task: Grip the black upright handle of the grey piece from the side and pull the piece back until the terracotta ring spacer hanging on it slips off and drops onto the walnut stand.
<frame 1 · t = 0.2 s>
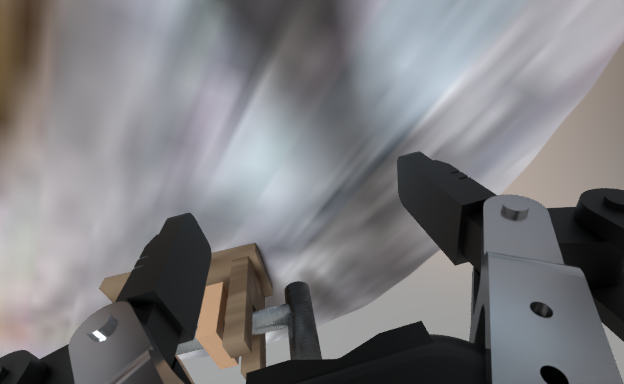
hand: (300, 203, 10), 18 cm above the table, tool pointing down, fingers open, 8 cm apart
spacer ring: (224, 301, 33), point 4 cm above the table, touching grey piece
grey piece: (229, 362, 27), point 12 cm above the table, slide at 0.0 cm, touching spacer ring
shaft stand: (213, 278, 36), on the table
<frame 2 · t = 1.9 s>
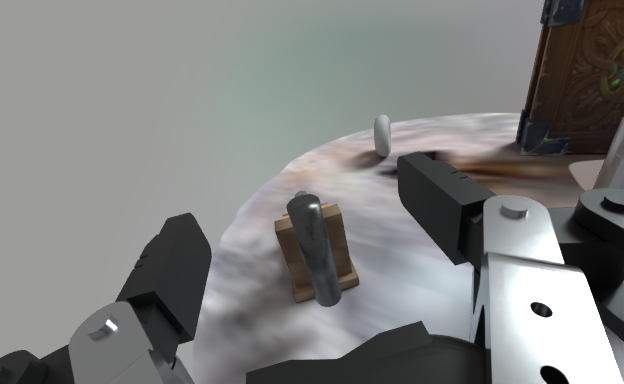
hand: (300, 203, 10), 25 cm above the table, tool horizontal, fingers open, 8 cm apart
decorative book: (592, 148, 52), on the table
grey piece: (305, 212, 34), point 11 cm above the table, slide at 0.0 cm, touching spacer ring
shaft stand: (318, 257, 42), on the table
donut: (384, 155, 67), on the table
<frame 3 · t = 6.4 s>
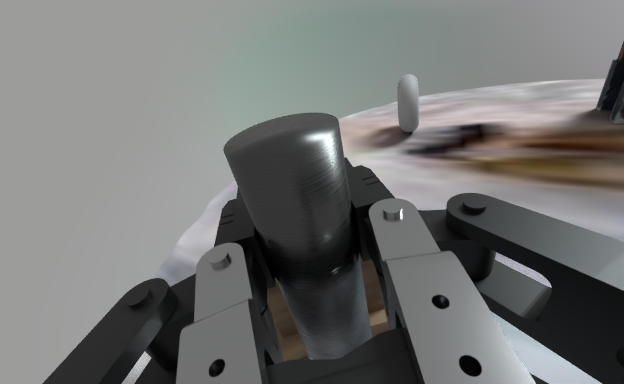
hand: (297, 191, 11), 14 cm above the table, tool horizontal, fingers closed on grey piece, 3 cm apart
grey piece: (299, 192, 17), point 12 cm above the table, slide at 0.0 cm, touching gripper, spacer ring
shaft stand: (322, 275, 26), on the table
donut: (408, 131, 51), on the table
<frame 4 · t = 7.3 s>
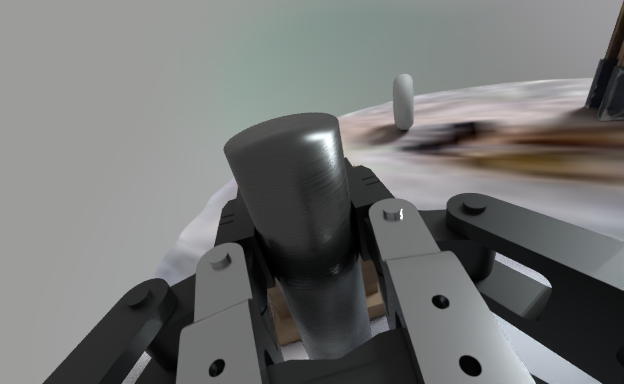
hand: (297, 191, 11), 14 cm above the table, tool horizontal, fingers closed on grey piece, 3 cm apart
grey piece: (298, 192, 17), point 12 cm above the table, slide at 1.4 cm, touching gripper, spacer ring
shaft stand: (318, 264, 27), on the table
donut: (404, 129, 52), on the table
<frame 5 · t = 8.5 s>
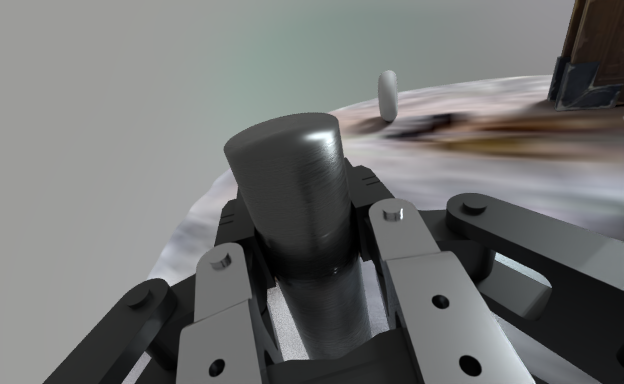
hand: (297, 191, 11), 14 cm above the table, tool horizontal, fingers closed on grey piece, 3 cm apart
grey piece: (298, 192, 17), point 12 cm above the table, slide at 7.9 cm, touching gripper, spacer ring
donut: (389, 120, 57), on the table
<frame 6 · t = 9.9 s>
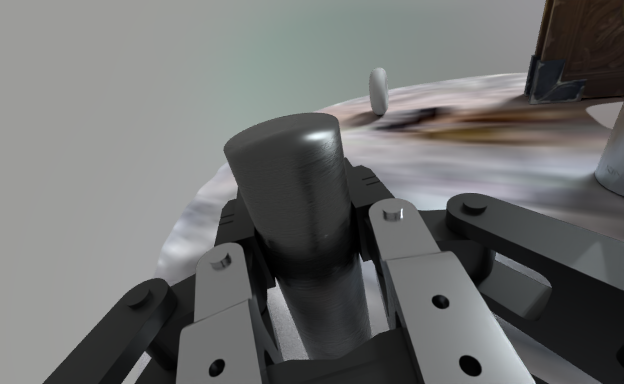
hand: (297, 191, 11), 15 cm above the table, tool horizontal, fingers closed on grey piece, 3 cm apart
decorative book: (610, 93, 46), on the table
grey piece: (299, 192, 17), point 11 cm above the table, slide at 13.4 cm, touching gripper
donut: (380, 114, 62), on the table
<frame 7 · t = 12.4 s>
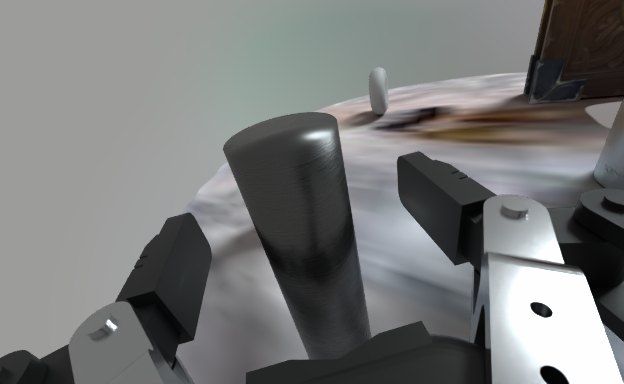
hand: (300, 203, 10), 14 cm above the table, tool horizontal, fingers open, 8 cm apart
decorative book: (609, 93, 46), on the table
grey piece: (298, 192, 17), point 11 cm above the table, slide at 13.5 cm
donut: (380, 114, 62), on the table
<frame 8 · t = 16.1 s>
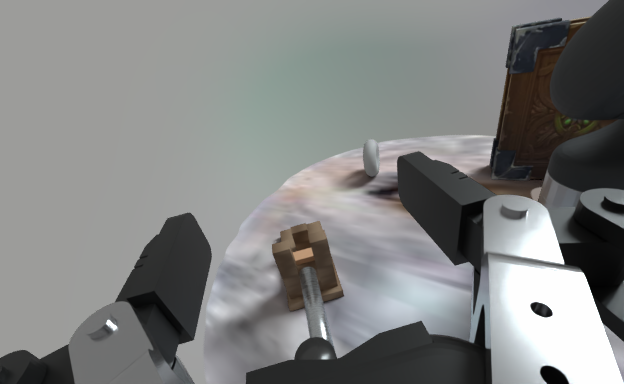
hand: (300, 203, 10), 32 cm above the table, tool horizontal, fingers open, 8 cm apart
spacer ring: (311, 278, 46), point 1 cm above the table, touching shaft stand
decorative book: (553, 174, 58), on the table
grey piece: (313, 315, 29), point 11 cm above the table, slide at 13.5 cm
shaft stand: (310, 271, 49), on the table
donut: (373, 174, 74), on the table
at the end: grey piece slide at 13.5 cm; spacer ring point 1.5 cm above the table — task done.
